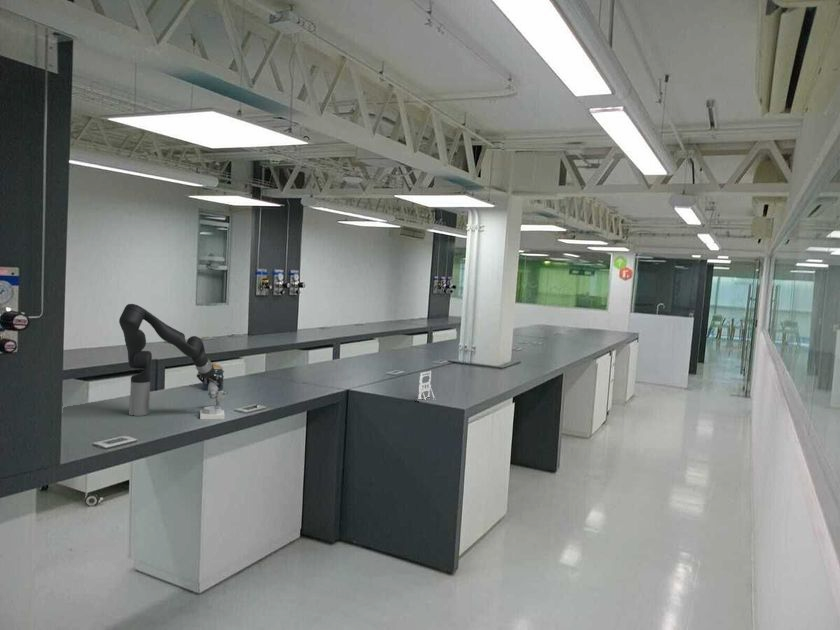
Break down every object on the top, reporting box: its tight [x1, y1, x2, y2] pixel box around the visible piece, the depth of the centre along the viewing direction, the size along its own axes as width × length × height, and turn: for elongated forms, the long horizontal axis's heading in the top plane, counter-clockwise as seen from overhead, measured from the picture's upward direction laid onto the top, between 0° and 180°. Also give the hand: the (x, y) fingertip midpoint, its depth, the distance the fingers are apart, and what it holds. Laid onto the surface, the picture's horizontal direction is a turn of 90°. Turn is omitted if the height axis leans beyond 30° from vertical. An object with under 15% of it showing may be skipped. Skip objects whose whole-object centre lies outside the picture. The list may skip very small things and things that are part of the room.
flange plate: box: [199, 405, 226, 420], centre depth 322 cm, size 12×12×4 cm
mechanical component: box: [209, 390, 228, 407], centre depth 338 cm, size 3×10×10 cm, turn 134°
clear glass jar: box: [207, 380, 218, 397], centre depth 321 cm, size 5×5×10 cm
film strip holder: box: [417, 370, 435, 400], centre depth 397 cm, size 14×14×20 cm
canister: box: [201, 361, 225, 391], centre depth 391 cm, size 13×13×18 cm
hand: (215, 386), depth 322 cm, fingers closed on clear glass jar, 5 cm apart
